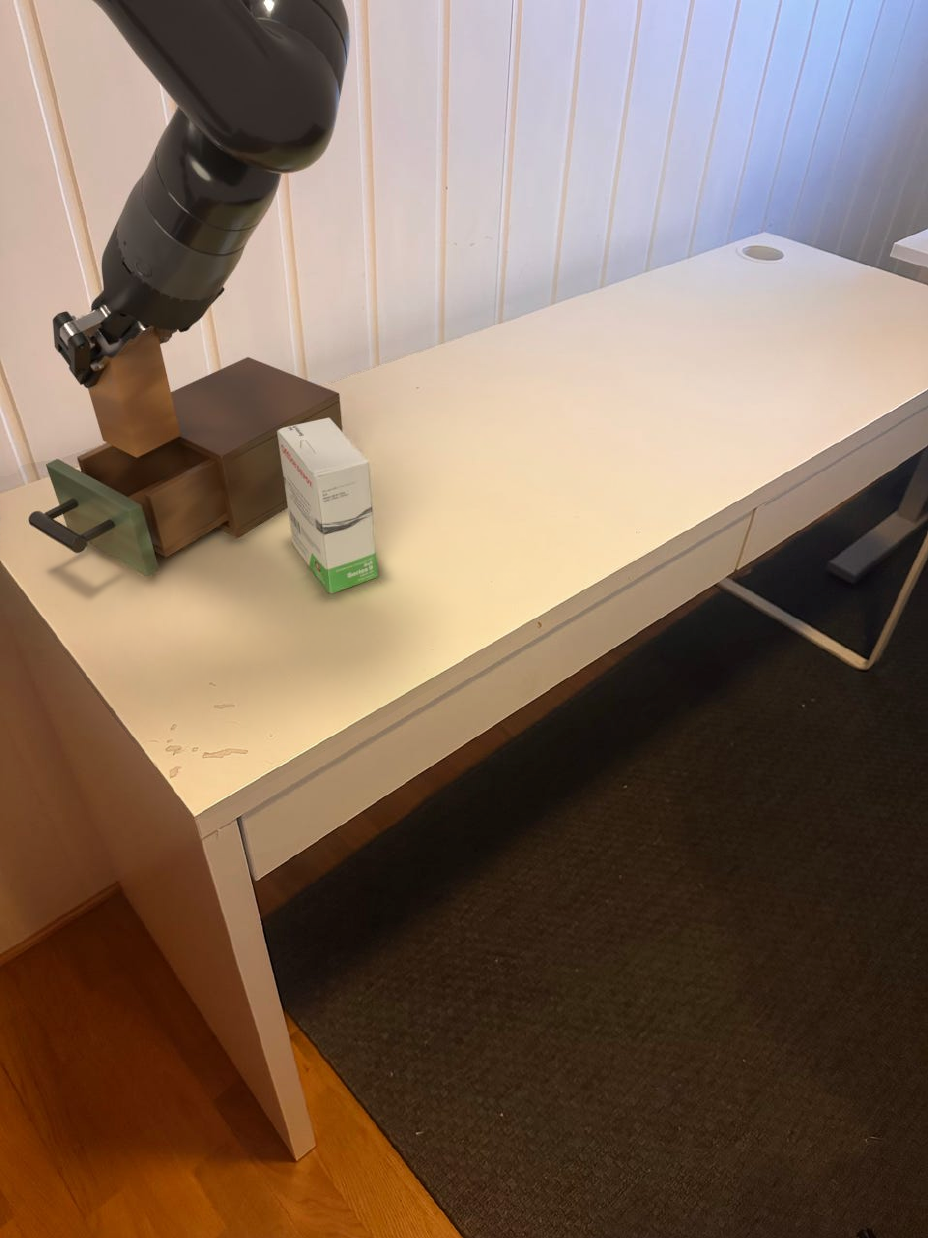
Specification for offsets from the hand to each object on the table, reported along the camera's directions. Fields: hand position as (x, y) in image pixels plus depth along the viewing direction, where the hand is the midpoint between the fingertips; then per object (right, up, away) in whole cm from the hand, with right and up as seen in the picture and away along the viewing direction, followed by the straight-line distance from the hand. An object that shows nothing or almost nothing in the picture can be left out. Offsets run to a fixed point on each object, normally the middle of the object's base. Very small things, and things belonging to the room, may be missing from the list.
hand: (110, 365), depth 73 cm
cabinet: (+8, -7, +16) cm, 19 cm away
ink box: (+17, -16, +6) cm, 24 cm away
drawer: (0, -12, +8) cm, 15 cm away
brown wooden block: (+1, -5, +3) cm, 6 cm away
